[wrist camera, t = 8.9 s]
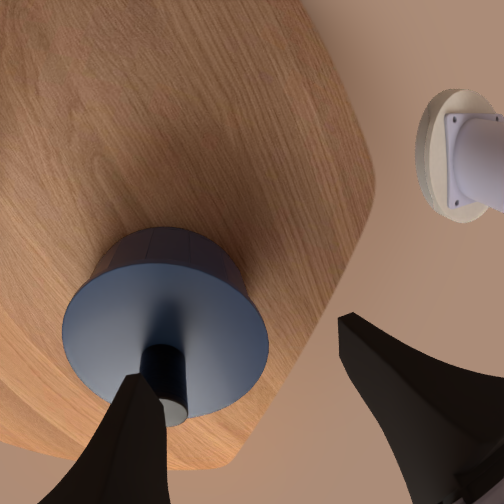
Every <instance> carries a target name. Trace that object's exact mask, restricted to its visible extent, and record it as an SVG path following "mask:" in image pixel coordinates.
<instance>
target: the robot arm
mask: <svg viewBox="0 0 504 504" xmlns="http://www.w3.org/2000/svg"><path fill="white" fill-rule="evenodd" d="M444 124H445V136H446V152H447V206H448V208H450V209H456V208H459V207H462V206H465V205H468V204H471V203H474V202H480V203H482V204H484V205H486V206H489V207H491V208H493V209H495V210H497V211H500V212H502V213H504V117H503V115H502V114H490V113H447V114H445V116H444ZM455 202H456V203H455ZM338 333H339V356H340V359H341V361H342V363H343V365H344V367H345V370H346V372H347V374H348V376H349V378H350V380H351V381H352V383H353V384H354V386H355V387H356V389H357V390H358V392H359V393H360V395H361V397H362V398H363V400H364V401H365V403H366V404H367V406H368V408H369V409H370V411H371V412H372V414H373V415H374V417H375V418H376V420H377V421H378V423H379V425H380V427H381V428H382V430H383V432H384V434H385V436H386V438H387V440H388V443H389V445H390V447H391V449H392V451H393V453H394V456H395V458H396V460H397V463H398V465H399V467H400V470H401V472H402V475H403V477H404V480H405V482H406V485H407V488H408V491H409V493H410V496H411V499H412V502H413V504H504V378H501V377H496V376H491V375H485V374H481V373H477V372H473V371H470V370H466V369H463V368H459V367H456V366H453V365H450V364H448V363H445V362H442V361H440V360H437V359H435V358H433V357H430V356H428V355H426V354H424V353H422V352H420V351H418V350H416V349H414V348H412V347H410V346H408V345H406V344H404V343H402V342H401V341H399V340H397V339H396V338H394V337H392V336H390V335H389V334H387V333H385V332H384V331H382V330H380V329H379V328H377V327H376V326H374V325H373V324H371V323H369V322H368V321H366V320H365V319H363V318H362V317H360V316H359V315H357V314H355V313H354V312H352V313H349V314H347V315H344V316H341V317H339V318H338ZM37 504H171V503H170V498H169V492H168V483H167V429H166V420H165V413H164V405H163V404H162V402H161V401H160V400H159V398H158V397H157V396H156V394H155V393H154V391H153V390H152V388H151V387H150V386H149V384H148V383H147V381H146V380H145V378H144V377H143V375H142V374H141V373H136V374H130V375H126V376H125V378H124V380H123V382H122V384H121V386H120V387H119V389H118V391H117V393H116V395H115V397H114V399H113V401H112V403H111V405H110V407H109V408H108V410H107V412H106V414H105V416H104V418H103V420H102V421H101V423H100V425H99V427H98V428H97V430H96V432H95V433H94V435H93V437H92V439H91V440H90V442H89V444H88V445H87V447H86V448H85V450H84V451H83V453H82V454H81V456H80V457H79V458H78V460H77V461H76V463H75V464H74V465H73V467H72V468H71V469H70V470H69V472H68V473H67V474H66V475H65V476H64V477H63V479H62V480H61V481H60V482H59V483H58V484H57V485H56V487H55V488H54V489H53V490H52V491H51V492H50V493H49V494H47V495H46V496H45V497H44V498H43V499H42V500H41V501H40V502H39V503H37Z"/></svg>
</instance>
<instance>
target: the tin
mask: <svg viewBox="0 0 504 504" xmlns="http://www.w3.org/2000/svg"><path fill="white" fill-rule="evenodd" d="M141 259H169V260H176V261H183V262H187V263H190V264H194V265H198V266H201V267H203V268H206V269H208V270H211V271H213V272H215V273H217V274H219V275H221V276H222V277H224V278H226V279H228V280H229V281H231V282H232V283H233V284H235V285H236V286H237V287H239V288H240V289H241V290H242V291H243V292H244V293H245V294H246V295H247V296H248V294H247V291H246V288H245V285H244V282H243V279H242V277H241V274H240V271H239V269H238V268H237V267H236V265H235V264H234V262H233V261H232V259H231V258H230V257H229V255H228V254H227V253H226V252H225V251H224V250H223V249H222V248H221V247H219V246H218V245H217V244H216V243H214V242H213V241H211V240H210V239H208V238H206V237H204V236H202V235H200V234H198V233H195V232H192V231H189V230H185V229H181V228H174V227H155V228H148V229H144V230H140V231H137V232H135V233H132V234H130V235H128V236H126V237H124V238H123V239H121V240H120V241H118V242H117V243H116V244H114V245H113V246H112V247H111V248H110V249H109V250H108V251H107V253H106V254H105V255H104V256H103V257H102V258H101V259H100V261H99V263H98V264H97V266H96V268H95V270H94V272H93V273H92V275H91V277H92V276H94V275H96V274H97V273H99V272H101V271H103V270H104V269H106V268H109V267H112V266H114V265H117V264H120V263H124V262H129V261H133V260H141ZM91 277H90V278H91Z"/></svg>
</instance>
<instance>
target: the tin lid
mask: <svg viewBox="0 0 504 504" xmlns="http://www.w3.org/2000/svg"><path fill="white" fill-rule="evenodd" d="M62 340H63V346H64V350H65V353H66V356H67V359H68V361H69V363H70V365H71V367H72V368H73V370H74V371H75V373H76V374H77V376H78V377H79V378H80V379H81V381H82V382H83V383H84V384H85V385H86V386H87V387H88V388H89V389H90V390H91V391H92V392H94V393H95V394H96V395H98V396H99V397H100V398H102V399H104V400H105V401H107V402H108V403H110V404H111V403H112V401H113V399H114V397H115V395H116V393H117V391H118V389H119V387H120V386H121V384H122V382H123V380H124V378H125V376H126V375H130V374H136V373H141V374H142V375H143V377H144V378H145V380H146V381H147V383H148V384H149V386H150V387H151V388H152V390H153V391H154V393H155V394H156V396H157V397H158V398H159V400H160V401H161V402H162V404H163V405H164V413H165V420H166V427H172V426H177V425H179V424H181V423H183V422H184V421H185V420H186V419H187V418H193V417H199V416H203V415H207V414H210V413H213V412H216V411H218V410H221V409H223V408H225V407H227V406H229V405H231V404H232V403H234V402H236V401H237V400H238V399H240V398H241V397H242V396H244V395H245V394H246V393H247V392H248V391H249V390H250V389H251V388H252V387H253V386H254V385H255V383H256V382H257V381H258V379H259V378H260V376H261V374H262V372H263V370H264V368H265V365H266V362H267V358H268V353H269V340H268V334H267V330H266V327H265V324H264V321H263V319H262V316H261V315H260V313H259V311H258V309H257V307H256V306H255V305H254V303H253V302H252V301H251V299H250V298H249V297H248V296H247V295H246V294H245V293H244V292H243V291H242V290H241V289H240V288H239V287H237V286H236V285H235V284H233V283H232V282H231V281H229V280H228V279H226V278H224V277H222V276H221V275H219V274H217V273H215V272H213V271H211V270H208V269H206V268H203V267H201V266H198V265H194V264H190V263H187V262H183V261H176V260H169V259H141V260H133V261H129V262H124V263H120V264H117V265H114V266H112V267H109V268H106V269H104V270H103V271H101V272H99V273H97V274H96V275H94V276H92V277H91V278H90V279H89V280H87V281H86V282H85V283H84V284H83V285H82V286H81V287H80V288H79V289H78V291H77V292H76V293H75V295H74V296H73V298H72V300H71V301H70V303H69V305H68V307H67V309H66V312H65V315H64V319H63V324H62Z"/></svg>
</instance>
